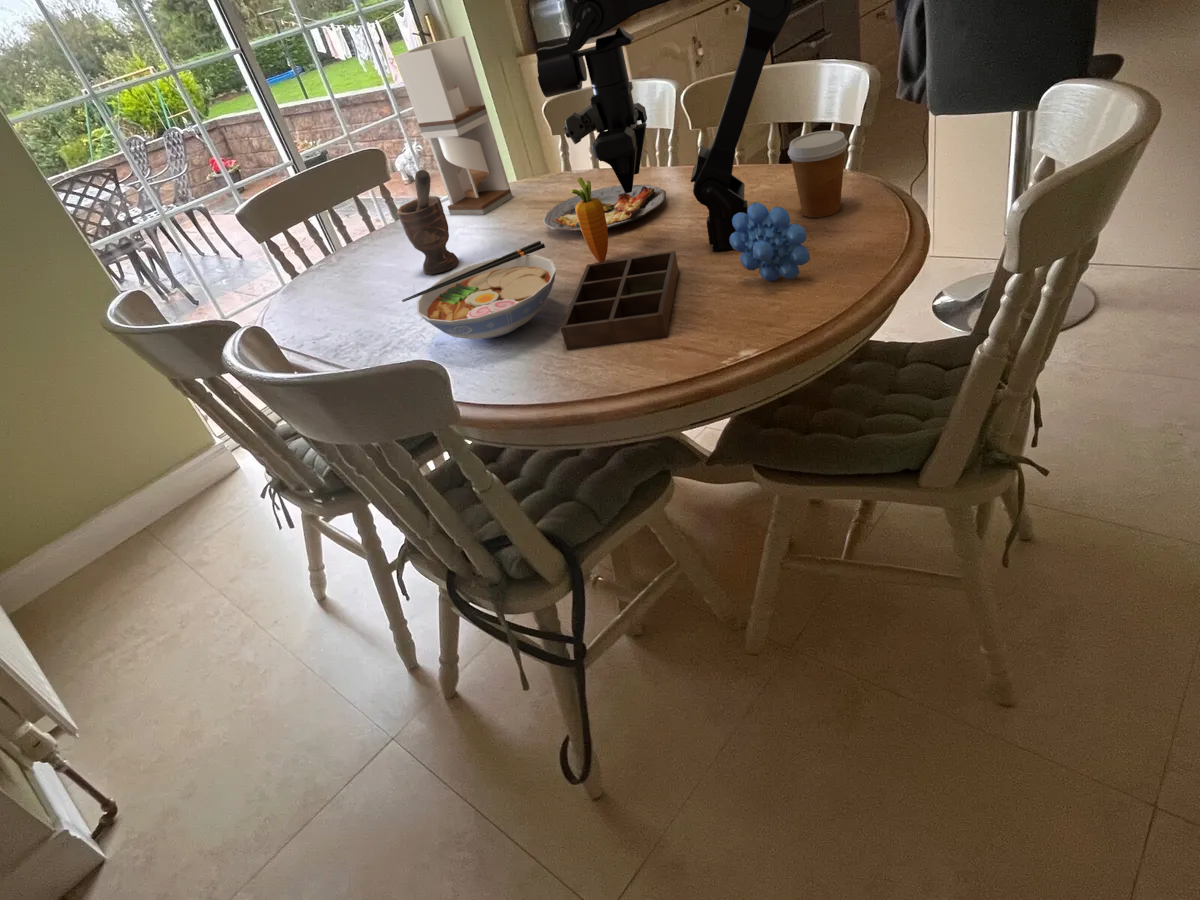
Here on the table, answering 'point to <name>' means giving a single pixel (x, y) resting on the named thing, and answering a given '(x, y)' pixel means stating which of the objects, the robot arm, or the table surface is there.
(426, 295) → the ramen bowl
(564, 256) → the table surface
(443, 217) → the mortar and pestle
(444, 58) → the white wooden shelf
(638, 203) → the food plate
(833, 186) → the disposable coffee cup
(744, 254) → the grapes
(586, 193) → the carrot
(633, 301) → the wooden compartment organizer
